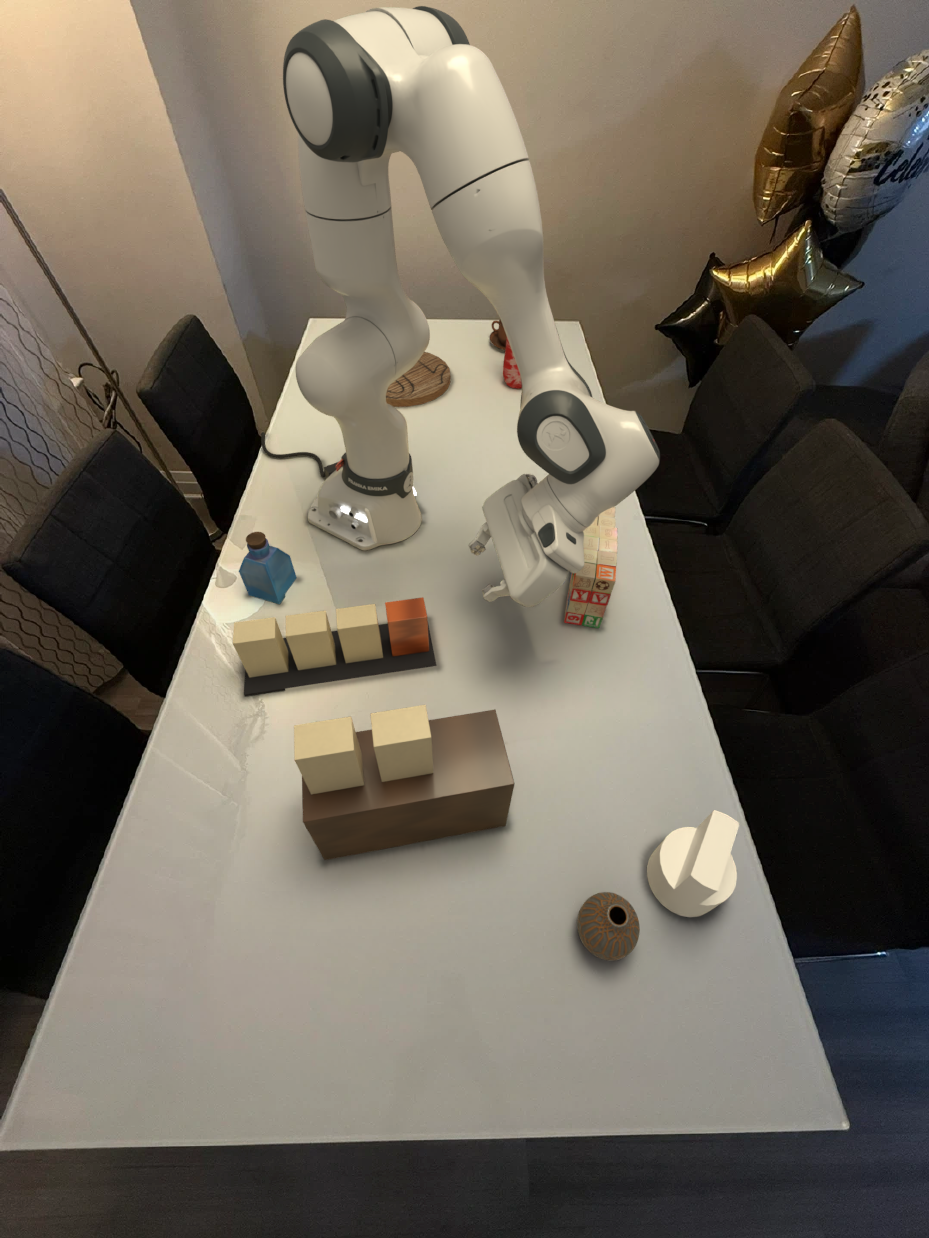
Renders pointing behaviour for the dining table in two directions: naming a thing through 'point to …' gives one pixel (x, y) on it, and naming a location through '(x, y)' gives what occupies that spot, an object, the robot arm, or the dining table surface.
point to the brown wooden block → (401, 779)
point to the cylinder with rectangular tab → (695, 866)
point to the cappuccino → (498, 335)
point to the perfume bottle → (266, 569)
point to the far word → (319, 650)
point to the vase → (608, 926)
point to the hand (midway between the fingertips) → (478, 573)
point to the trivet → (420, 382)
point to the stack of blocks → (594, 573)
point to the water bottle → (511, 368)
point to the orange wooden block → (407, 626)
